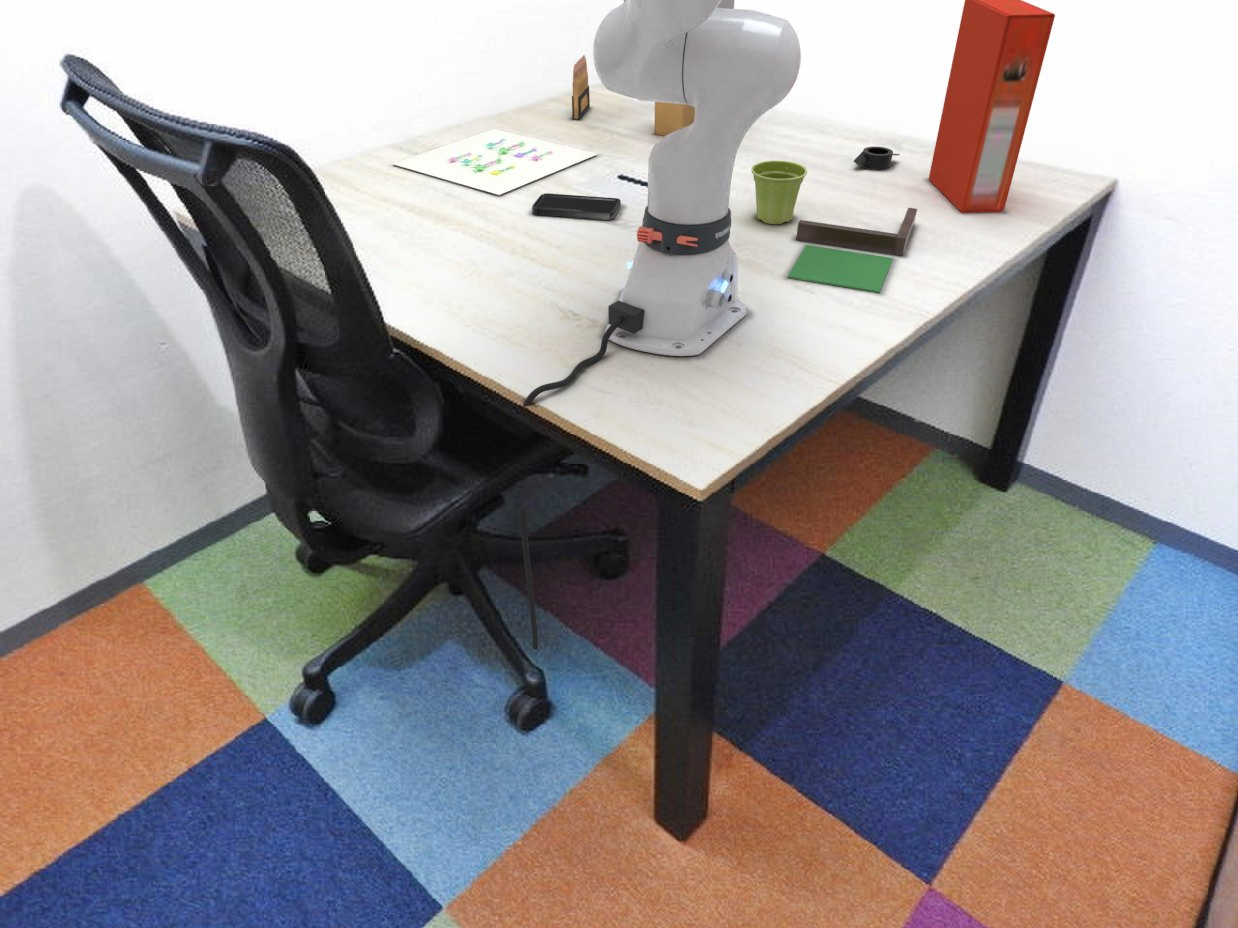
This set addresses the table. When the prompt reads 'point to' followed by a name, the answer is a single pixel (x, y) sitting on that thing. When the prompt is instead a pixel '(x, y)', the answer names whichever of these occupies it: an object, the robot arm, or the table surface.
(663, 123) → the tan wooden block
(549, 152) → the printed paper
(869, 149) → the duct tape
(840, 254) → the green cloth
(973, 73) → the file binder
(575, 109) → the ammunition clip
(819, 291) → the table surface
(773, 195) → the plant pot
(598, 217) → the phone
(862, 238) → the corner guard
